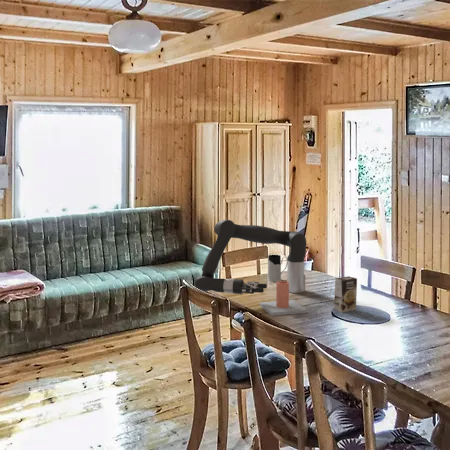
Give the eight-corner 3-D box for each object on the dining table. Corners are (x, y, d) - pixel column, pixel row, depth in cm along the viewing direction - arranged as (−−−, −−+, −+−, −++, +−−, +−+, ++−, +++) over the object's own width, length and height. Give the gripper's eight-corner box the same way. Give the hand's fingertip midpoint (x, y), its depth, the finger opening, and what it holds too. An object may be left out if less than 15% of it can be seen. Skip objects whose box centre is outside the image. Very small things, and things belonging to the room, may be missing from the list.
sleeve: (281, 303, 276) (281, 280, 274) (291, 306, 272) (291, 282, 270) (274, 306, 272) (274, 282, 270) (283, 308, 268) (283, 284, 266)
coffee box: (342, 313, 265) (342, 280, 263) (333, 309, 271) (334, 277, 268) (356, 310, 269) (357, 278, 267) (348, 307, 275) (348, 275, 273)
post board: (292, 302, 283) (293, 278, 281) (306, 312, 266) (307, 287, 264) (259, 305, 278) (259, 281, 277) (271, 315, 261) (272, 290, 259)
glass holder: (264, 279, 333) (264, 255, 331) (283, 276, 340) (283, 253, 338) (272, 282, 325) (272, 257, 323) (291, 279, 332) (292, 255, 330)
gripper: (230, 282, 270) (262, 284, 266) (237, 275, 283) (267, 277, 279) (230, 297, 271) (262, 299, 267) (237, 289, 284) (267, 291, 280)
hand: (265, 288), depth 273 cm, fingers open, 8 cm apart
